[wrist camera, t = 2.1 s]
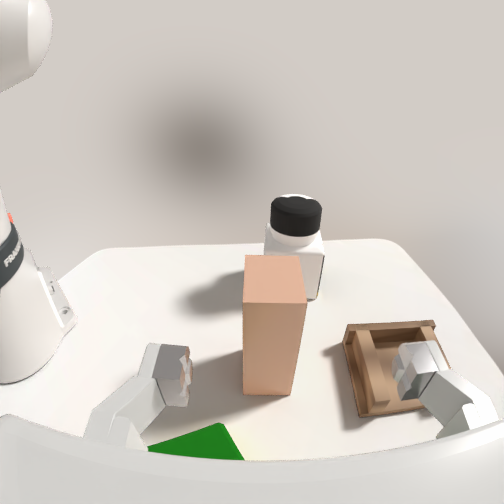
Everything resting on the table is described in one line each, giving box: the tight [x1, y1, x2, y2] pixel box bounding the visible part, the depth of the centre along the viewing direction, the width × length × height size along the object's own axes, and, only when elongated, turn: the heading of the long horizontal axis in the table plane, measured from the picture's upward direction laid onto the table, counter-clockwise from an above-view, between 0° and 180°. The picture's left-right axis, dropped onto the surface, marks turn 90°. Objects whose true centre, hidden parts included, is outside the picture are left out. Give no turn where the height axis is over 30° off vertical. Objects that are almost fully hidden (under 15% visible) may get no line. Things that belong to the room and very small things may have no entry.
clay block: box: [243, 255, 307, 395], centre depth 28 cm, size 6×4×12 cm
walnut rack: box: [342, 320, 451, 417], centre depth 29 cm, size 10×11×3 cm
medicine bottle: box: [264, 194, 325, 299], centre depth 41 cm, size 7×7×12 cm
